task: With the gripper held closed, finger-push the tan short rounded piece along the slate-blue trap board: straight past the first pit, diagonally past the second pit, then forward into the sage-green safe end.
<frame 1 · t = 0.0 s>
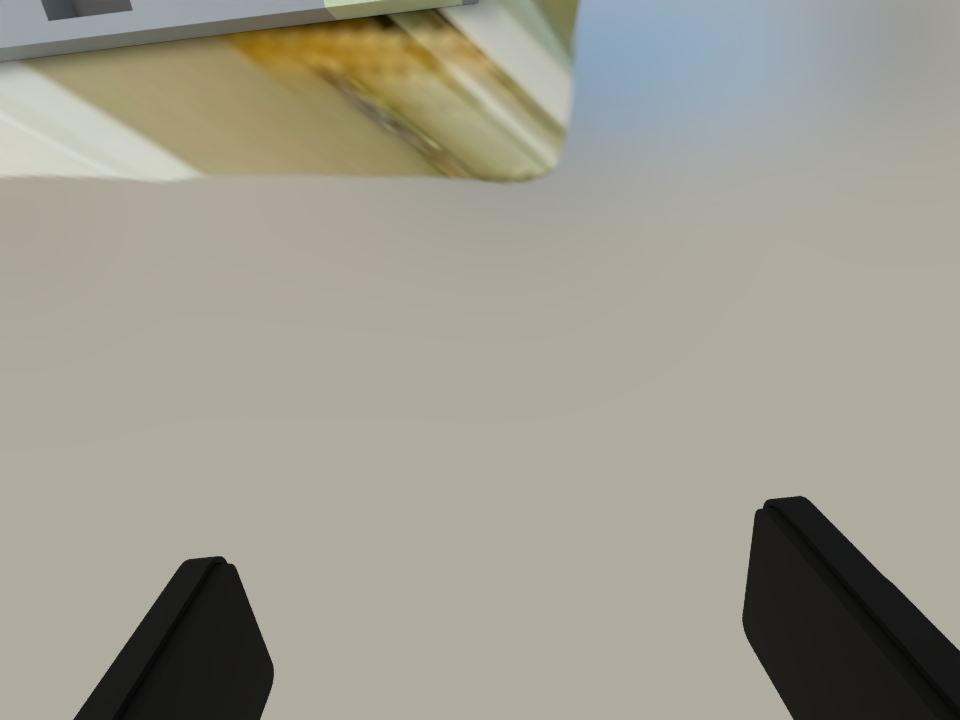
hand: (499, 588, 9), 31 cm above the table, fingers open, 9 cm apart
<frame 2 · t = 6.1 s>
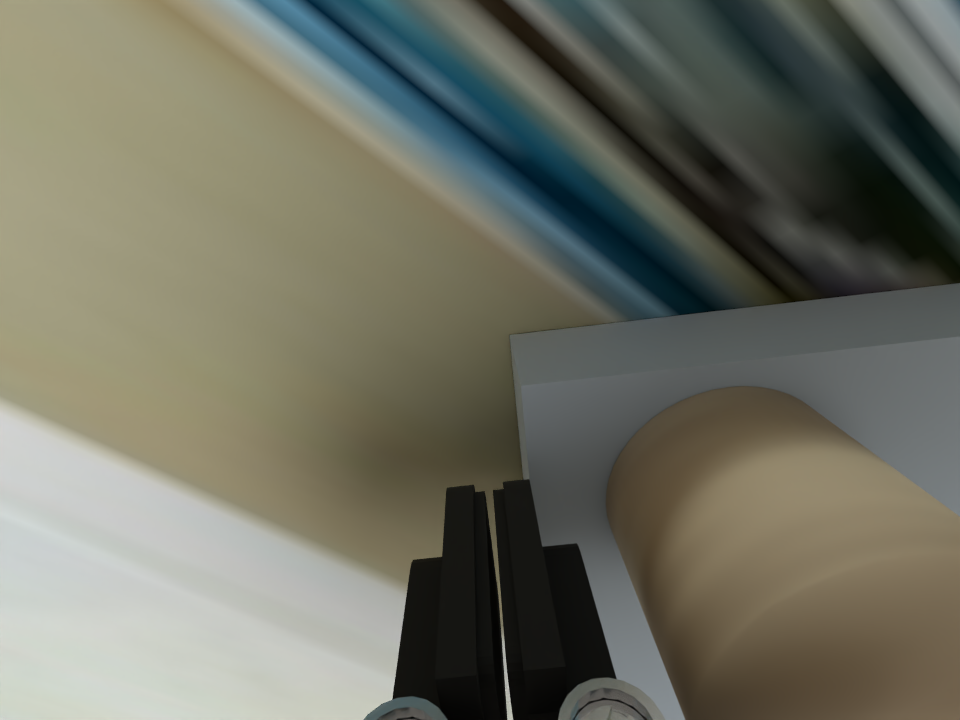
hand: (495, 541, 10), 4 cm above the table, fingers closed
tan short rounded piece: (720, 490, 11), point 3 cm above the table, touching gripper
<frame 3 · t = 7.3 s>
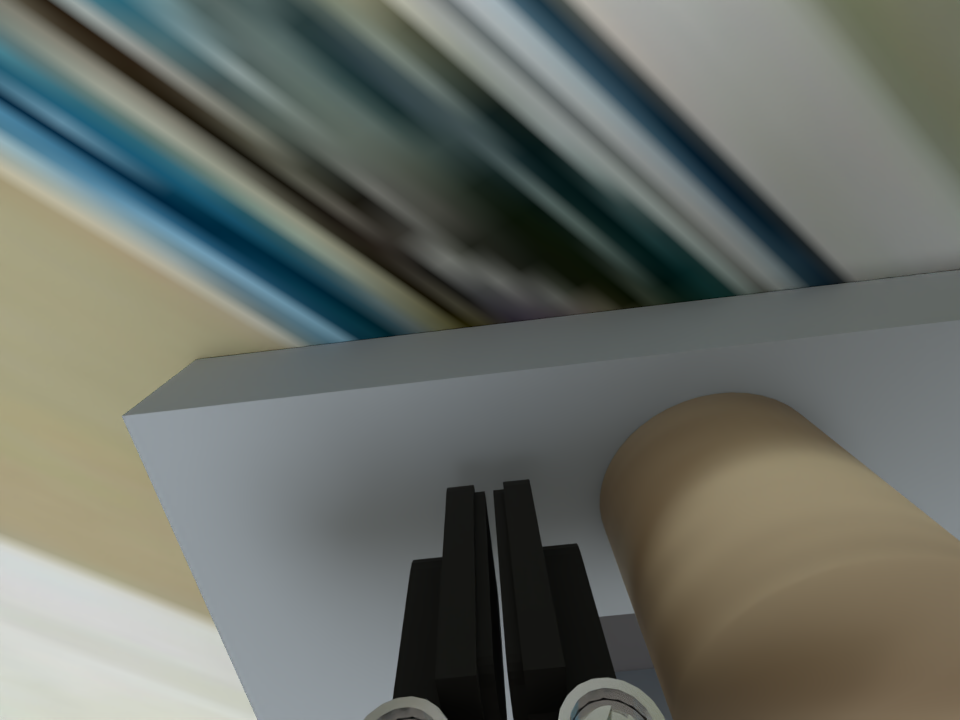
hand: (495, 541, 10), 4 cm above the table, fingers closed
tan short rounded piece: (711, 493, 11), point 3 cm above the table, touching gripper
trap board: (755, 514, 15), on the table
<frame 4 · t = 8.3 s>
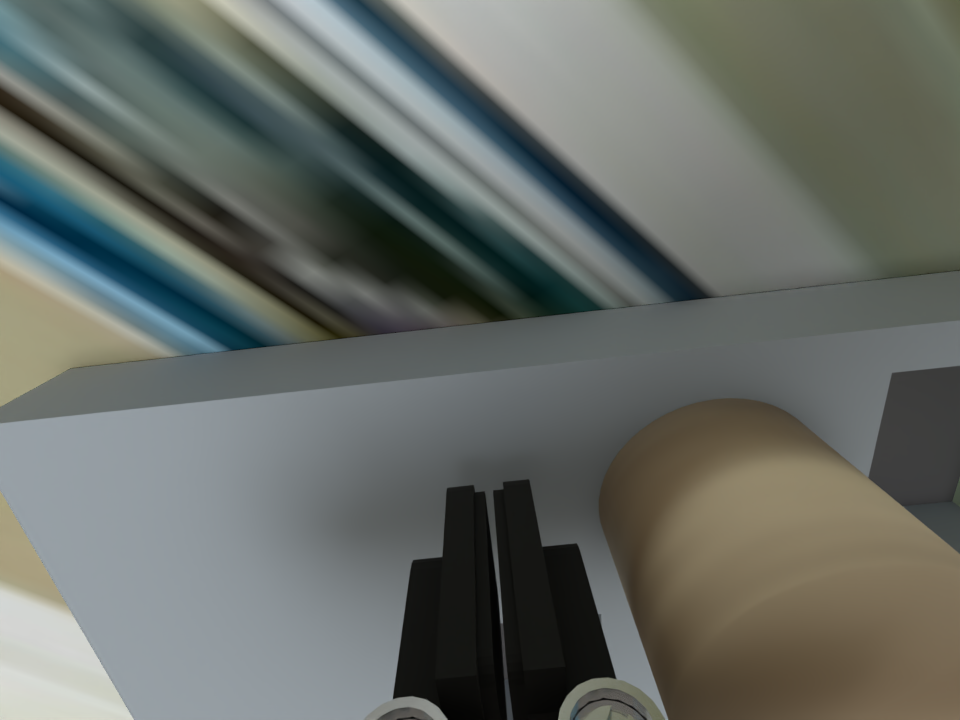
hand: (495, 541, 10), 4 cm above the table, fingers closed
tan short rounded piece: (709, 497, 11), point 3 cm above the table, touching gripper, trap board
trap board: (643, 524, 15), on the table
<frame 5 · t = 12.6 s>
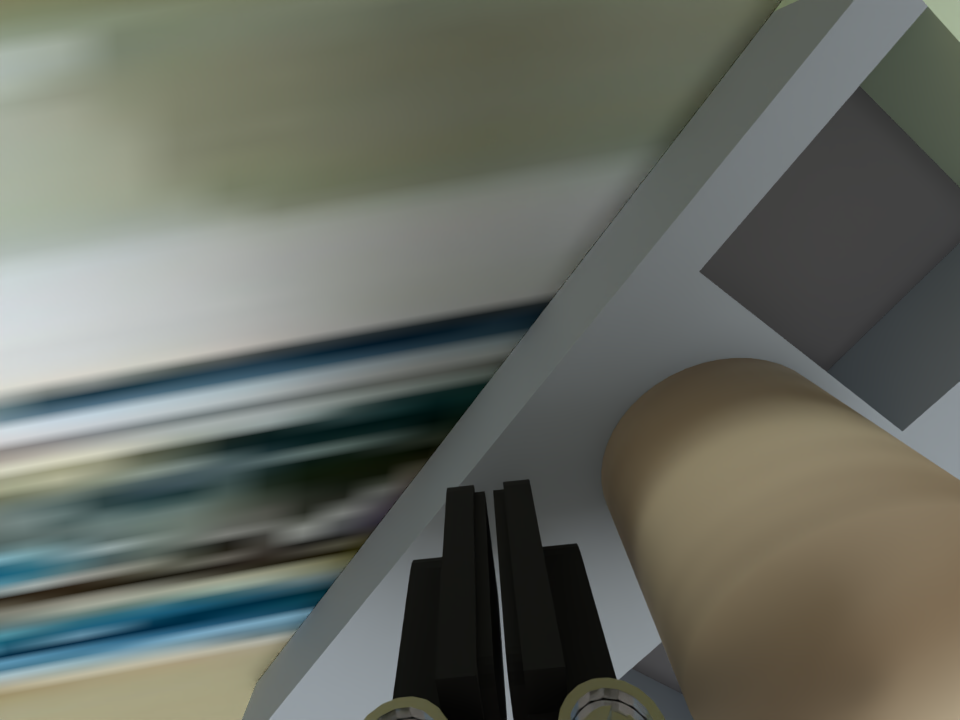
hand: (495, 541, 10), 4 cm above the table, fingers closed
tan short rounded piece: (716, 465, 11), point 3 cm above the table, touching gripper, trap board
trap board: (706, 477, 15), on the table
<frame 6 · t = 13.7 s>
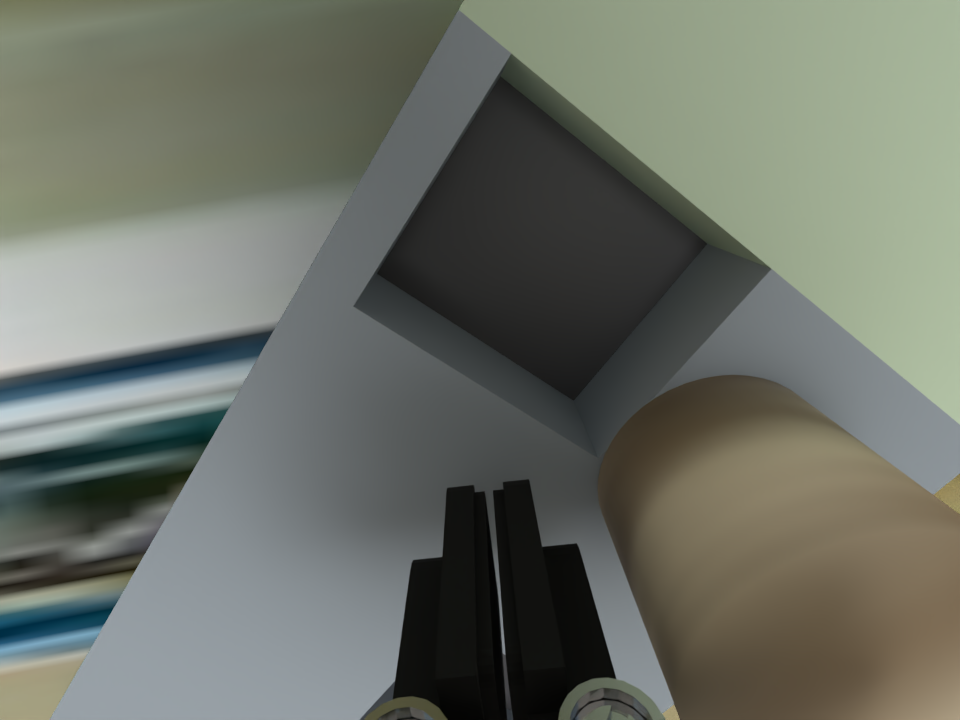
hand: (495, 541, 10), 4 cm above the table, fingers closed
tan short rounded piece: (710, 477, 11), point 3 cm above the table, touching gripper, trap board
trap board: (486, 496, 15), on the table
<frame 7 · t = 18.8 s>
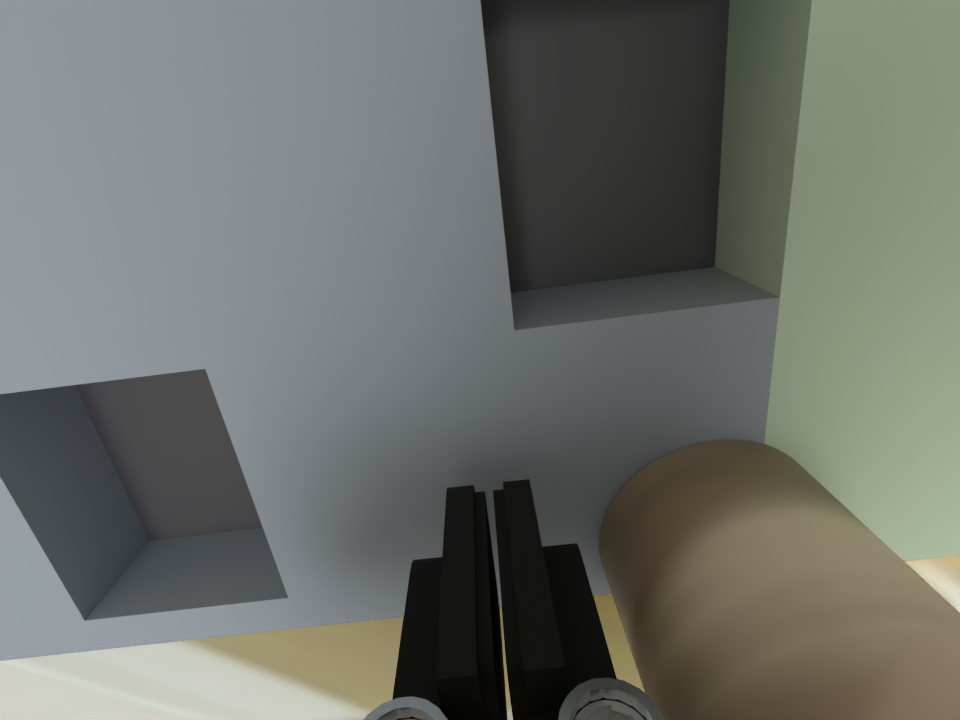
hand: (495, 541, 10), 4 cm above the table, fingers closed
tan short rounded piece: (707, 534, 12), point 3 cm above the table, touching gripper
trap board: (342, 310, 12), on the table
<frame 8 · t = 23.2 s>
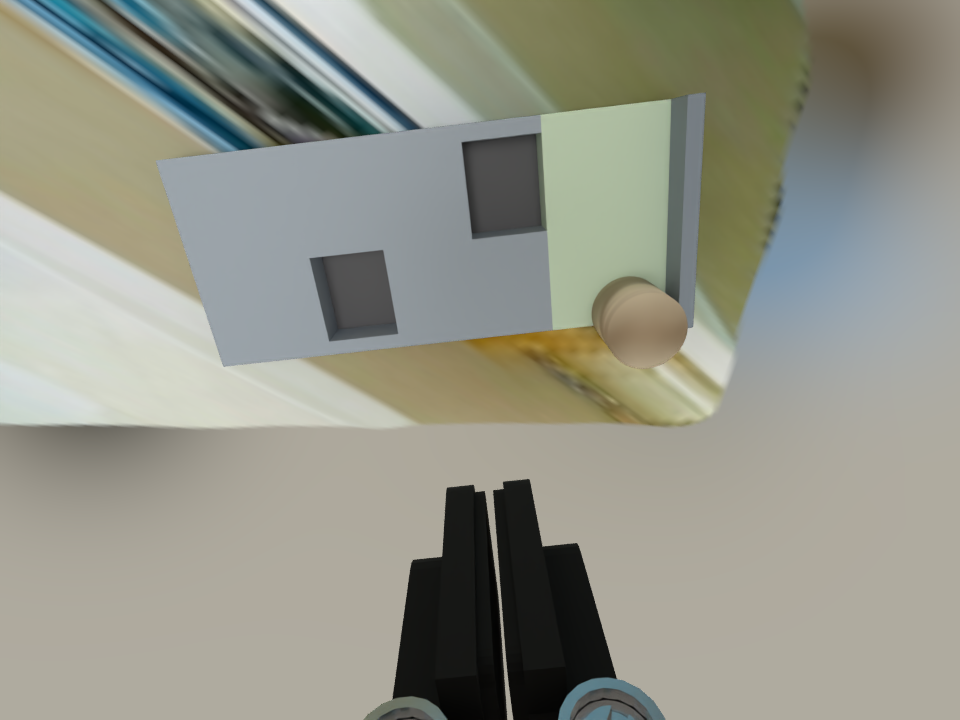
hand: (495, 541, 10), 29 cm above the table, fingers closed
tan short rounded piece: (626, 311, 36), point 3 cm above the table, touching trap board
trap board: (416, 239, 37), on the table
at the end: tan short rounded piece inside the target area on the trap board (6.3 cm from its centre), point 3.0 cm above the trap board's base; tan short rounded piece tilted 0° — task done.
